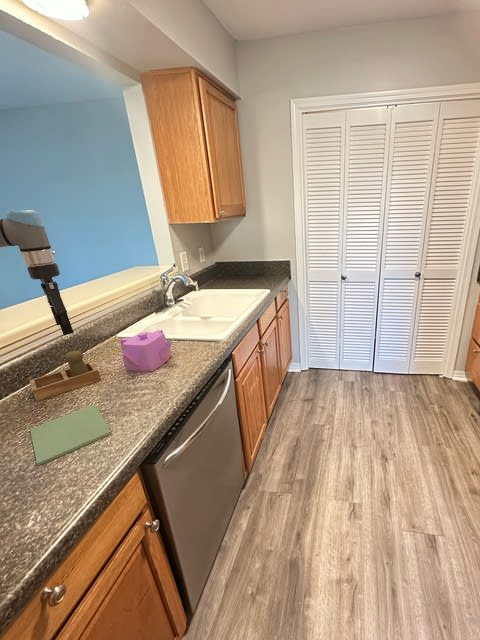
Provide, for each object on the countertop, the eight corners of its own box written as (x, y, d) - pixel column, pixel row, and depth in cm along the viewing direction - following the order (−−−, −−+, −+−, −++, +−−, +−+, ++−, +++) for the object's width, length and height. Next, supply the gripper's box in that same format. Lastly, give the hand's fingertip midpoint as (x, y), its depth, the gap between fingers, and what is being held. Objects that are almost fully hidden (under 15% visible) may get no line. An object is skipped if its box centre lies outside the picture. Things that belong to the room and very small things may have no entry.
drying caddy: (33, 390, 109) (29, 380, 108) (94, 370, 120) (91, 361, 119) (36, 401, 102) (32, 391, 101) (101, 380, 113) (98, 370, 112)
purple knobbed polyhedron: (167, 349, 135) (160, 321, 130) (178, 364, 122) (171, 334, 117) (122, 361, 126) (113, 332, 121) (128, 379, 113) (119, 347, 108)
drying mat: (30, 430, 89) (29, 428, 88) (96, 406, 98) (95, 403, 98) (37, 466, 76) (36, 463, 76) (111, 433, 86) (111, 431, 86)
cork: (81, 385, 110) (70, 357, 106) (68, 383, 112) (57, 355, 108) (96, 377, 116) (86, 349, 111) (83, 375, 117) (74, 347, 113)
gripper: (62, 266, 92) (86, 334, 100) (50, 258, 109) (71, 317, 118) (30, 271, 88) (57, 342, 96) (22, 262, 105) (46, 323, 113)
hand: (65, 328), depth 107 cm, fingers open, 13 cm apart
